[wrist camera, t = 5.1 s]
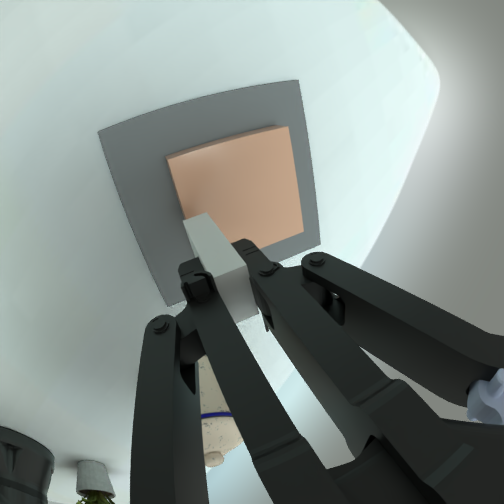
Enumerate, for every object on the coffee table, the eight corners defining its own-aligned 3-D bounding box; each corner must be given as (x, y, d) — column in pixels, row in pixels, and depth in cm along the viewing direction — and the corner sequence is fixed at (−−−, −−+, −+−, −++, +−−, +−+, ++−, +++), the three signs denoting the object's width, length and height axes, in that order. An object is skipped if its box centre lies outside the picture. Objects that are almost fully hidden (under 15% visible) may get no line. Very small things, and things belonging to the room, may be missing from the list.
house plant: (32, 451, 27) (39, 533, 14) (88, 441, 30) (104, 537, 16) (83, 479, 34) (96, 547, 21) (136, 469, 37) (158, 544, 24)
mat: (167, 304, 25) (167, 306, 25) (98, 131, 17) (97, 131, 16) (318, 242, 29) (320, 244, 28) (295, 80, 20) (298, 79, 20)
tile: (204, 270, 22) (303, 231, 24) (167, 159, 18) (288, 126, 20) (197, 258, 24) (291, 222, 26) (164, 156, 19) (275, 125, 21)
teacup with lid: (186, 406, 33) (213, 482, 23) (130, 382, 28) (147, 474, 18) (254, 354, 33) (300, 431, 23) (202, 319, 28) (245, 416, 18)
